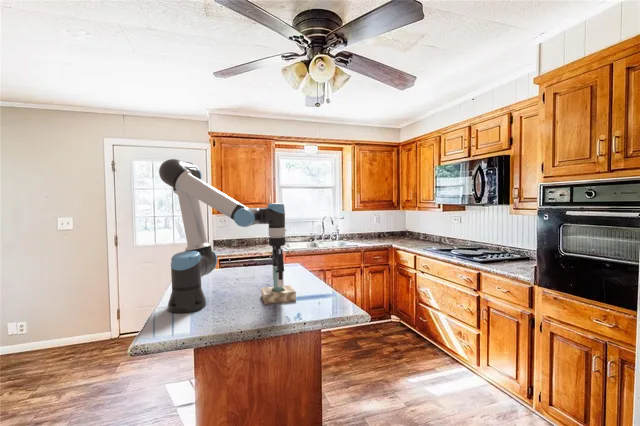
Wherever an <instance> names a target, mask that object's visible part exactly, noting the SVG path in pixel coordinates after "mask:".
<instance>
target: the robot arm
mask: <svg viewBox="0 0 640 426" xmlns="http://www.w3.org/2000/svg"><path fill="white" fill-rule="evenodd" d="M158 174H159V177H160V180H161V181H163V183H165V184H167V186H169V187H171V188H172V191H173V193H175V194H176V195H177V197H178V204H179V208H180V213H181V218H182V223H183V229H184V233H185V237H186V238H185V239H186V244H187V245H186V247H185V249H184V251H180V252H177V253H175V254H173V255H172V256H171V259H170V261H171V262H170V270H171V271H170V273H171V276H170V277H171V294H170V296H169V300H168V304H167V311H168V312H170V313H173V314H186V313H193V312H197V311H200V310H202V309H204V308H205V307H206V306H207V299H206V296H205V294H204V292H203V288H202V277H204V276H207V275H209V274H210V273H211V272H213V271H214V270H215V269H216V267H217V265H218V256H217V254H216V252H215V251H214V250H213V248H212V244H211V243H209V242H208V240H207V235H206V229H205V225H204V220H203V215H202V210H201V209H202V208H201V205H200V202H202V203H203V204H206V205H207V206H208V207H211V208H213V209H214V210H215V211H217V212H219V213H221V214H222V215H225V216H226V217H228V218H230V219H232V221H234V223H235V224H236V225H237V226H239V227H241V228H242V227H243V228H248V227H251V226H254V225H268V245H269V246H270V247H271V248H272V249H271V250H272V252H271V253H272V255H271V264H272V265H271V266H272V269H273V268H276V267H277V271H276V273H277V287H284V286H285V285H284V272H285V265H284V255H283V253H284V250H283V249H282V247H283V246H285V245H286V237H285V236H286V232H287V229H286V212H285V211H286V210H285V204H284V203H282V202H281V203H280V202H279V203H278V202H275V203H274V202H273V203H271V202H270V203H268V204H267V207H248V206H246V205H244V204H242V203H241V202H239V201H237V200H235V199H234V198H233V197H230V196H228V195H227V194H226V193H223V192H222V191H220V190H218V189H217V188H215V187H213V186H212V185H210V184H208V183H206V182H205V181H204V180H202V176H203V175H202V173H201V169H199V167H198V166H197V165H196V164H193V163H192V162H190V161H184V160H180V159H175V158H171V159H166V160H165V161H163V163H161V165H160V166H159V169H158ZM272 281H274V278H273V277H272Z"/></svg>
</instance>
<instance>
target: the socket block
mask: <svg viewBox="0 0 640 426" xmlns="http://www.w3.org/2000/svg"><path fill="white" fill-rule="evenodd" d="M260 289H261V298H262V301H263V303H264V305H266V304H275V303H286V302H287V303H288V302H295V301H297V291H296V290H295V289H294V288H293V286H292V285H291V284H288V285H284V287H282V291H277V292H274V286H265V287H261V288H260Z"/></svg>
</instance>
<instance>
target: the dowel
mask: <svg viewBox="0 0 640 426" xmlns="http://www.w3.org/2000/svg"><path fill="white" fill-rule="evenodd" d="M276 271H277V267H276V268H273V267H272V279H273V278H274V280H273V287H274V292H277V291H282V287H277V273H276Z"/></svg>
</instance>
